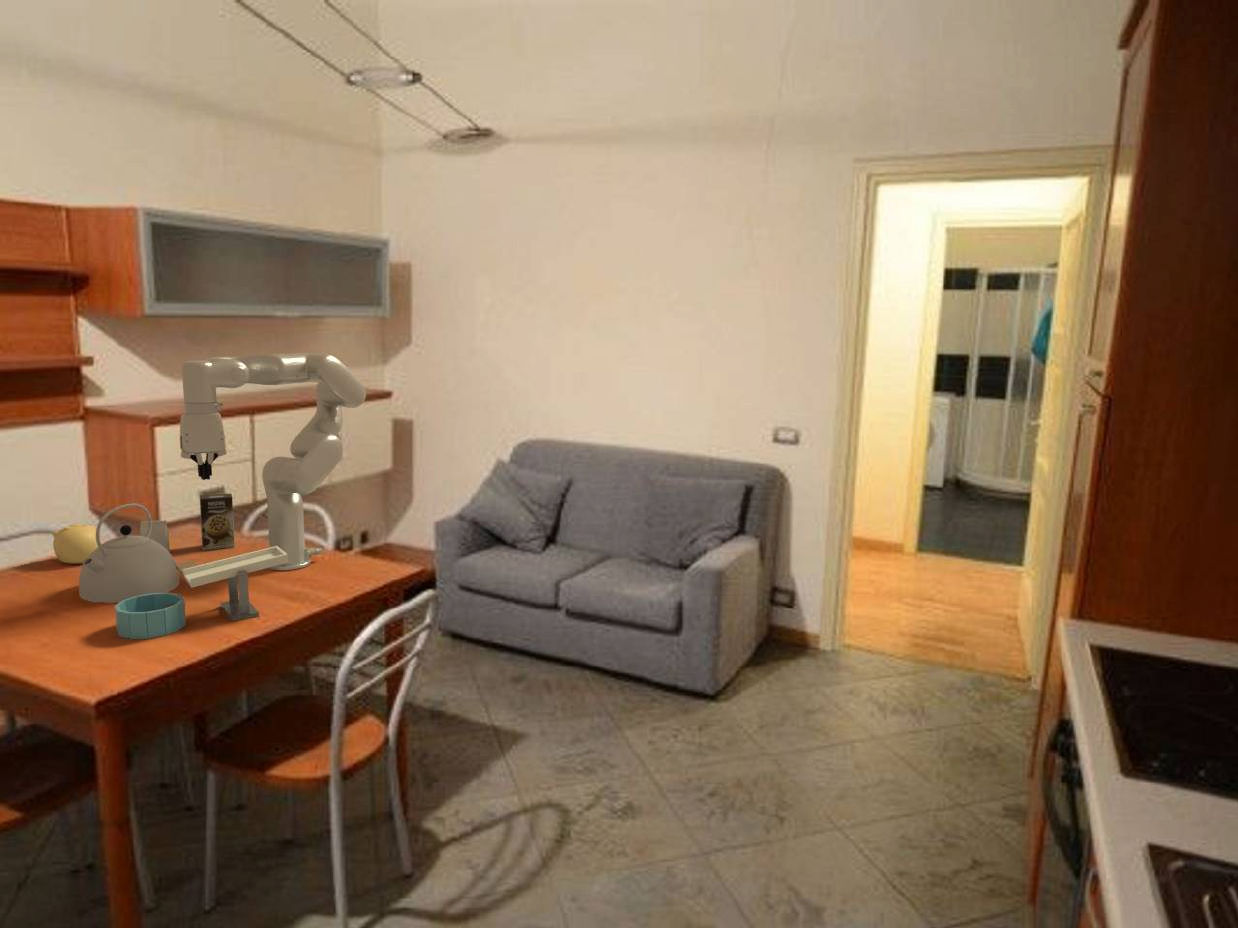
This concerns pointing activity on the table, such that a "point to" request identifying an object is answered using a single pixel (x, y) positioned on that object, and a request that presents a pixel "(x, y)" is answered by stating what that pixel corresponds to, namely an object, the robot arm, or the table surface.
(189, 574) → the lever
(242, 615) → the lever stand
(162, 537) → the tea bag
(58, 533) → the yellow rounded piece
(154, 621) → the teal round bowl
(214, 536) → the dark cardboard box
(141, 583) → the kettle
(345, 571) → the table surface
